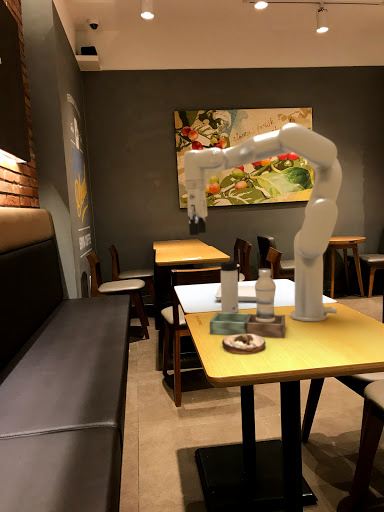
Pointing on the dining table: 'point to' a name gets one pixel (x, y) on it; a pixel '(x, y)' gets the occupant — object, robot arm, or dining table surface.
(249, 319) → the dock
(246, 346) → the sushi roll
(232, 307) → the travel mug
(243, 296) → the salad plate
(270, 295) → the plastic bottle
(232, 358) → the dining table surface
